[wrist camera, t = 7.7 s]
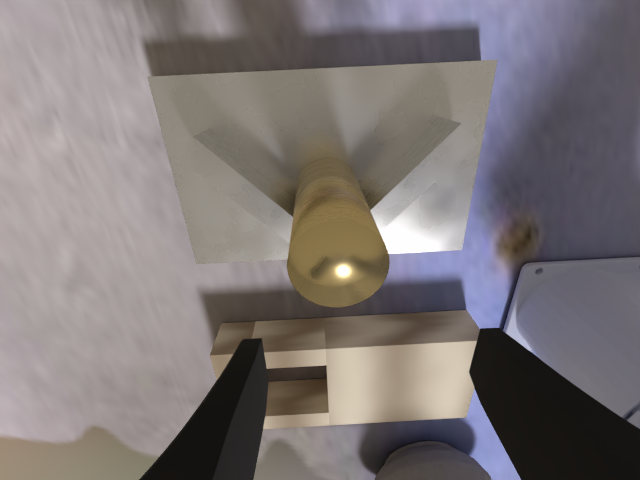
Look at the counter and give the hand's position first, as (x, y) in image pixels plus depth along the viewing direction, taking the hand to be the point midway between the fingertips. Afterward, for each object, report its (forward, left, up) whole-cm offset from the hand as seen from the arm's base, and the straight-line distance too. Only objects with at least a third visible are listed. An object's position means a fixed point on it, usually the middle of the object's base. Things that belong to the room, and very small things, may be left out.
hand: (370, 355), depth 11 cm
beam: (0, +11, -10) cm, 15 cm away
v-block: (+1, -4, -10) cm, 11 cm away
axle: (+1, -3, -9) cm, 9 cm away
